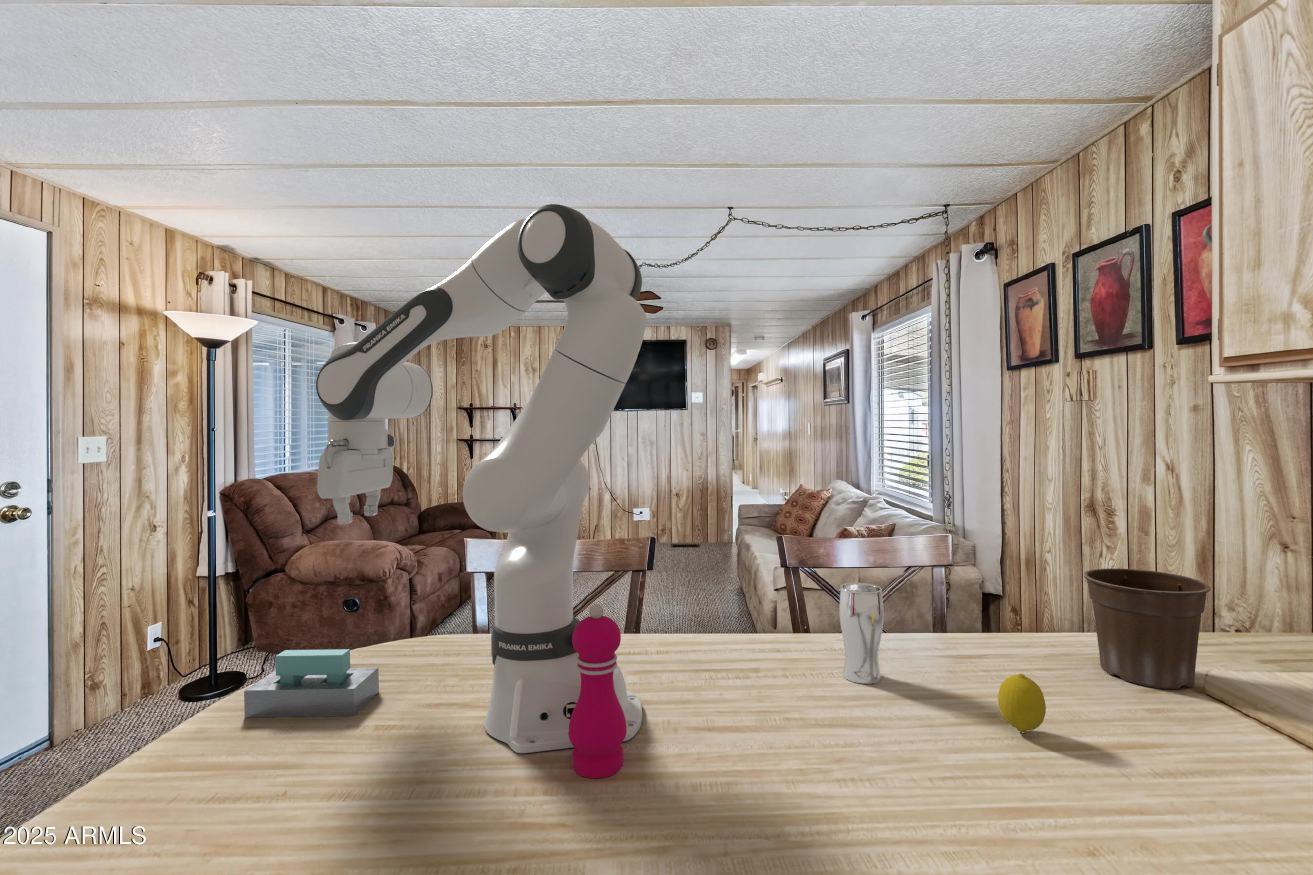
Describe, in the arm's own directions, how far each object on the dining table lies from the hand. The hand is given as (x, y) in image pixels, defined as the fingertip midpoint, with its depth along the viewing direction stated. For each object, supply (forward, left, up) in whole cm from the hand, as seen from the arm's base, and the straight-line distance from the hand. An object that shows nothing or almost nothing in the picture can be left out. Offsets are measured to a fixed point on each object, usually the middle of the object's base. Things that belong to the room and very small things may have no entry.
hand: (358, 519), depth 102 cm
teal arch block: (+2, +11, -27) cm, 29 cm away
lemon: (-100, +23, -27) cm, 106 cm away
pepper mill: (-43, +29, -27) cm, 59 cm away
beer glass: (-85, +4, -27) cm, 89 cm away
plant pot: (-132, +5, -27) cm, 135 cm away
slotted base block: (+2, +11, -27) cm, 29 cm away
